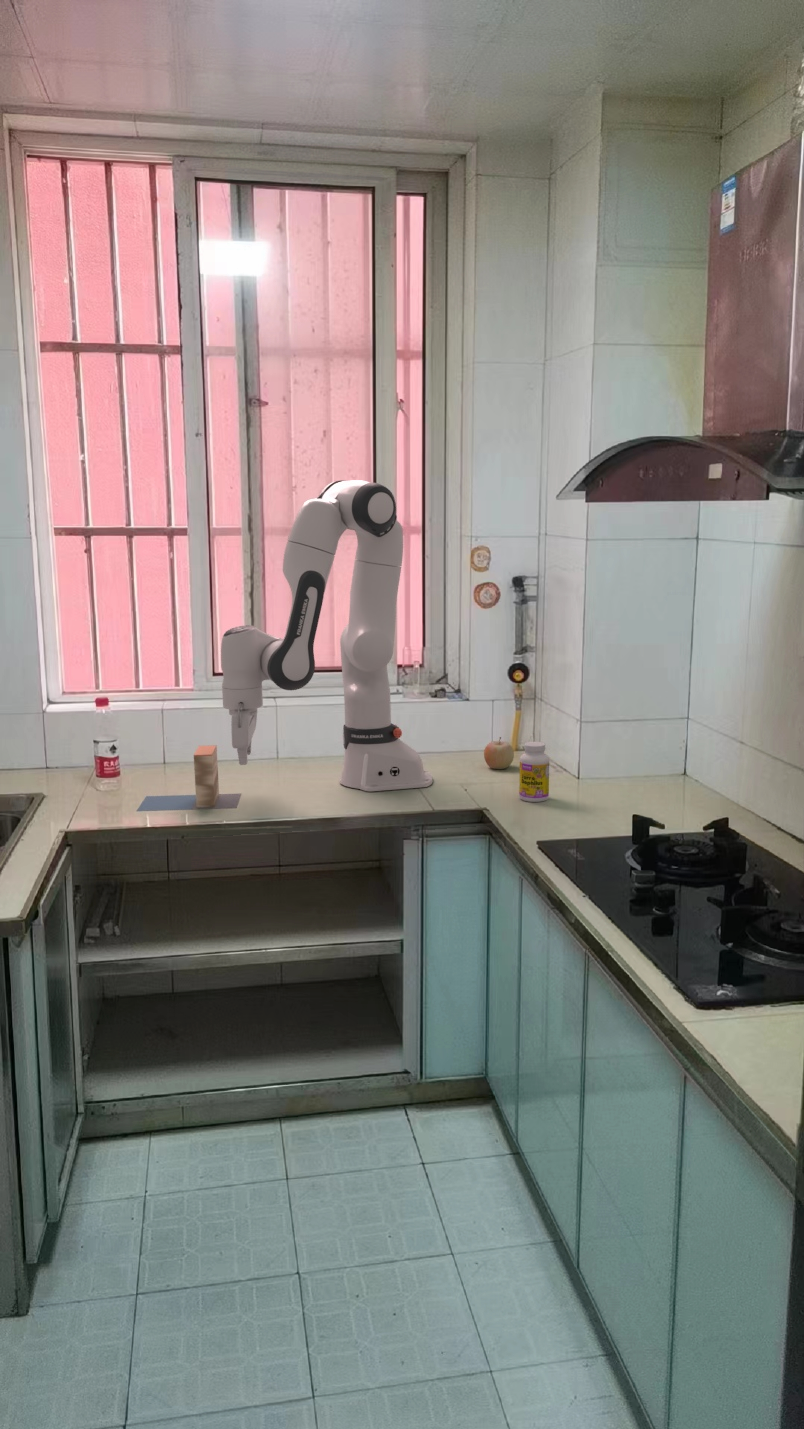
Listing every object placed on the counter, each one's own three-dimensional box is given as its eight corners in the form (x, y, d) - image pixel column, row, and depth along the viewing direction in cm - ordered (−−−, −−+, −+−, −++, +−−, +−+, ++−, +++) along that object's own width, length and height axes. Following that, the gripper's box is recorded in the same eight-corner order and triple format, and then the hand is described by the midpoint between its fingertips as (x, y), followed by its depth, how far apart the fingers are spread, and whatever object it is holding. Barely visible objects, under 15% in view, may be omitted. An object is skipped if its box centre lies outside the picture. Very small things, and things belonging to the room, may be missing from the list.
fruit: (497, 763, 276) (497, 732, 274) (519, 767, 270) (519, 737, 269) (477, 768, 271) (477, 737, 269) (498, 773, 265) (498, 742, 264)
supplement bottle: (515, 801, 240) (516, 745, 238) (523, 793, 246) (524, 739, 244) (544, 804, 238) (545, 748, 235) (551, 796, 244) (552, 741, 241)
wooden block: (219, 795, 247) (216, 745, 244) (214, 806, 238) (211, 754, 236) (201, 796, 247) (199, 745, 244) (196, 807, 238) (193, 755, 235)
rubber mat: (241, 795, 249) (241, 793, 248) (236, 810, 237) (236, 808, 237) (146, 798, 247) (146, 796, 247) (136, 813, 236) (136, 810, 236)
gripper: (253, 707, 228) (255, 770, 231) (260, 690, 248) (262, 748, 251) (223, 708, 228) (226, 770, 230) (232, 691, 248) (235, 749, 250)
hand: (245, 759), depth 241 cm, fingers open, 8 cm apart
